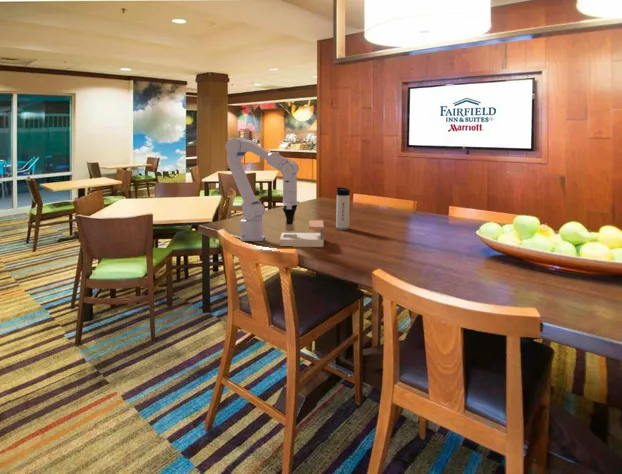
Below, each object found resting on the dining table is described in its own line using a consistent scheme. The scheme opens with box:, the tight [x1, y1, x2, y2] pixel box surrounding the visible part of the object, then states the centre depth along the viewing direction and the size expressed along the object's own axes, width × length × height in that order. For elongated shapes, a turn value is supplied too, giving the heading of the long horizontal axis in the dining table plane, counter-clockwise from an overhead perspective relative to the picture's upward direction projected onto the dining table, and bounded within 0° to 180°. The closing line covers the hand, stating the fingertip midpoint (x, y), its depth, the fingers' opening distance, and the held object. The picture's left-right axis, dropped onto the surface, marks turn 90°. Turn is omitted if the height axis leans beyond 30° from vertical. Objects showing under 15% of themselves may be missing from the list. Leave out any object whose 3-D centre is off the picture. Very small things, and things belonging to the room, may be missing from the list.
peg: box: [285, 212, 296, 232], centre depth 179 cm, size 4×4×8 cm
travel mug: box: [335, 186, 351, 231], centre depth 207 cm, size 6×7×20 cm
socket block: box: [279, 219, 325, 248], centre depth 181 cm, size 18×13×8 cm
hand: (290, 223), depth 180 cm, fingers closed on peg, 4 cm apart
